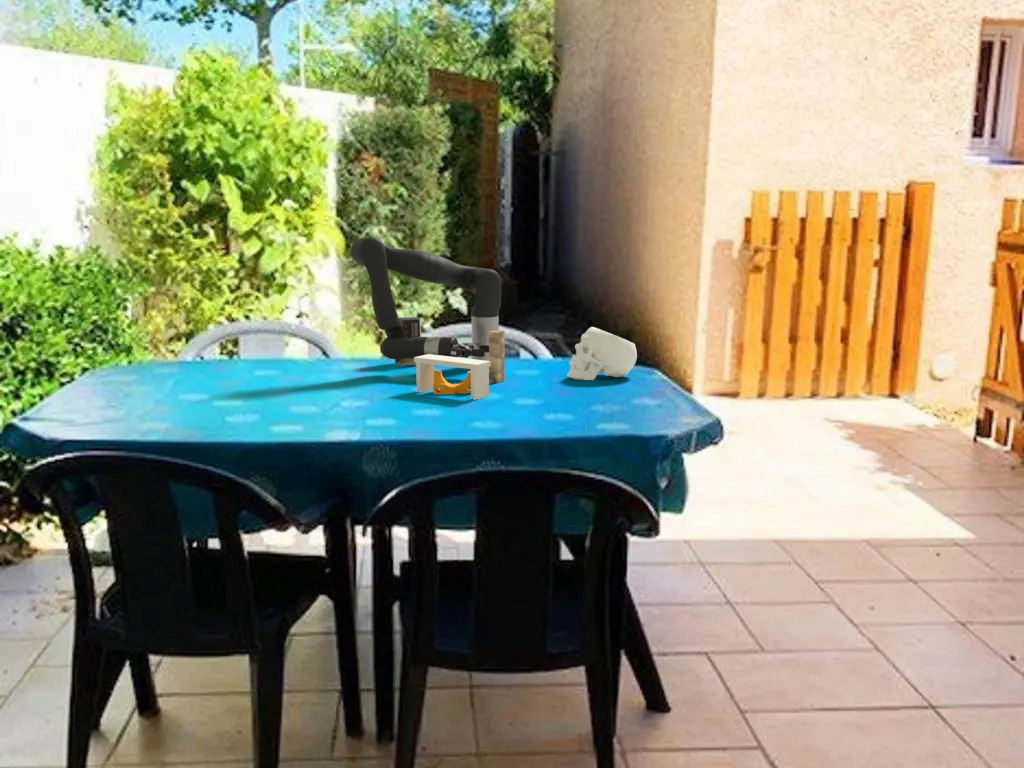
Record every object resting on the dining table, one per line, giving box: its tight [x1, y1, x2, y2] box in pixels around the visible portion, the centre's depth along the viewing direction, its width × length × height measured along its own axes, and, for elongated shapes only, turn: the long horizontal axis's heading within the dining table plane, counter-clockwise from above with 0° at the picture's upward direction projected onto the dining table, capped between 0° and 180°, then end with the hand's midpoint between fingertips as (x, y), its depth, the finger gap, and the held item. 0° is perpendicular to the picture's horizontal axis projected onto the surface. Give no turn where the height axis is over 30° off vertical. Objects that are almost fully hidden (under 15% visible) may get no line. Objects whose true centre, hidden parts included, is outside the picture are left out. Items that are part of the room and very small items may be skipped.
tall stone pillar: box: [459, 330, 506, 390], centre depth 314 cm, size 20×4×16 cm, turn 146°
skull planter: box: [566, 326, 638, 381], centre depth 328 cm, size 14×20×19 cm
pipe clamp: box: [432, 370, 471, 395], centre depth 304 cm, size 12×4×6 cm, turn 86°
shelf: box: [414, 354, 491, 401], centre depth 302 cm, size 7×23×10 cm, turn 57°
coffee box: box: [394, 316, 422, 367], centre depth 351 cm, size 9×6×16 cm
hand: (488, 351), depth 321 cm, fingers open, 8 cm apart
